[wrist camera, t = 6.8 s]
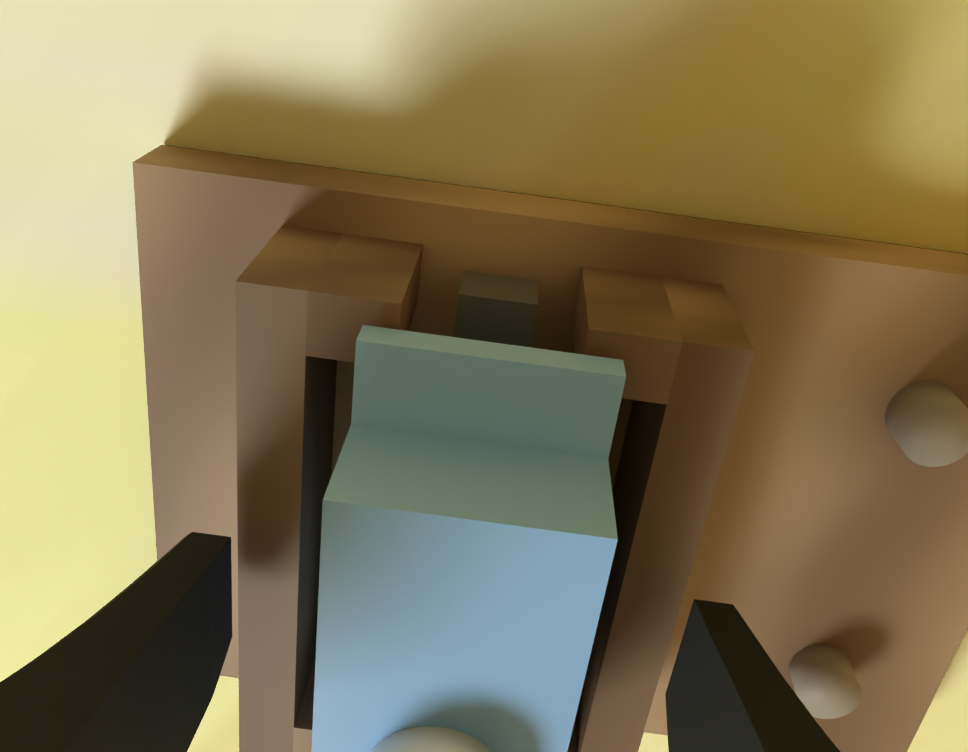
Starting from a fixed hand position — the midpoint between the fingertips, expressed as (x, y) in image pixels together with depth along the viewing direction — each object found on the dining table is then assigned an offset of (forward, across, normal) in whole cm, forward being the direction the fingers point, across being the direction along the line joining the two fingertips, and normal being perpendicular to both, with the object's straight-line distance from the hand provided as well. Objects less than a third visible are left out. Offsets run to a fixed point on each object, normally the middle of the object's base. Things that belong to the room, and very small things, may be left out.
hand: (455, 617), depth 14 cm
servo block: (+3, 0, 0) cm, 3 cm away
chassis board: (+4, -2, 0) cm, 5 cm away
